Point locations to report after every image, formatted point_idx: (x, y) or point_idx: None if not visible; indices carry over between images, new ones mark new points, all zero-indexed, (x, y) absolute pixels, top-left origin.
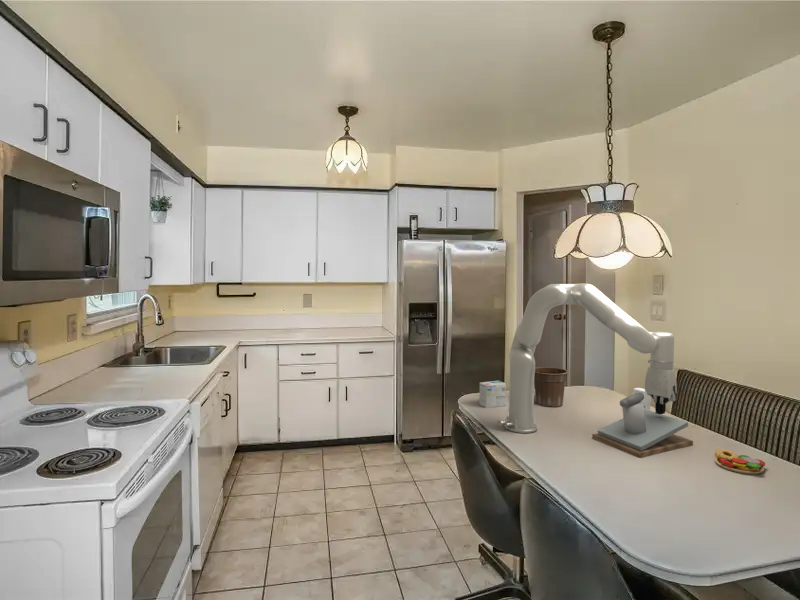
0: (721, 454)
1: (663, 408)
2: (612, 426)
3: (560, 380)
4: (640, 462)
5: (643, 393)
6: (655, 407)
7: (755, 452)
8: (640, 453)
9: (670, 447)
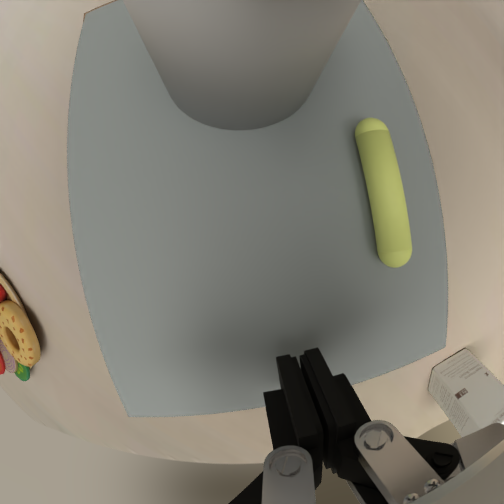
0: (2, 315)
1: (269, 424)
2: (357, 25)
3: None
4: (67, 10)
5: (489, 424)
6: (350, 388)
7: (97, 439)
8: (84, 15)
9: None
